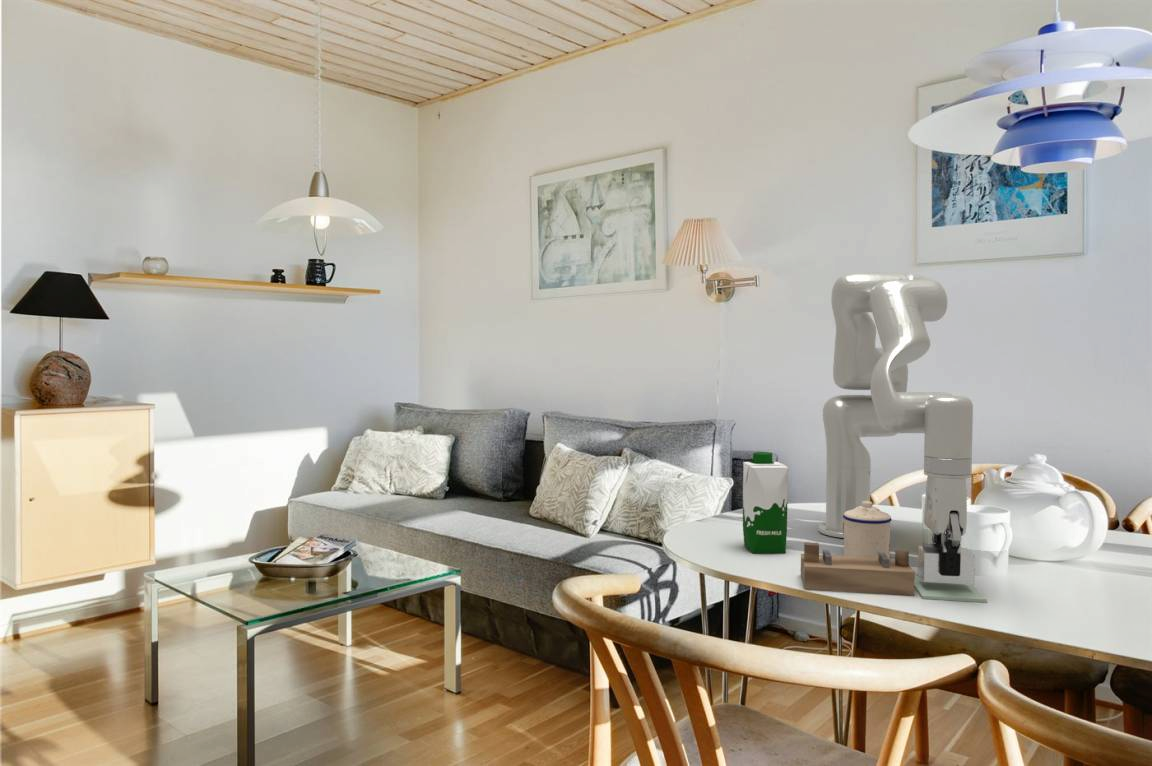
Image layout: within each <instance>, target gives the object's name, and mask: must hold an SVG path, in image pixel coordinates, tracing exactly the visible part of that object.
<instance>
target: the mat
mask: <svg viewBox="0 0 1152 766" xmlns="http://www.w3.org/2000/svg"><path fill="white" fill-rule="evenodd" d="M914 590H915V591H916V592H917V593H918V595H919V596H920V598H921V599H923V600H924V599H925V600H938V601H956V602H970V603H971V602H972V603H974V602H975V603H988V599H987V598H986V597H985V595H983V594H982V593H981V592H980V591H979V590H978V589H977V588H976V587H975V586H974V585H971V584H954V583H936V582H924V581H923V580H922V579H921V577H920V576H917V575H916V576H914Z"/></svg>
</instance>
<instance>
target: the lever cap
mask: <svg viewBox="0 0 1152 766" xmlns="http://www.w3.org/2000/svg"><path fill="white" fill-rule="evenodd" d="M940 552H942V544H936V543H933V544H932V543H922V545H918V546H917V575H918V577H921V579H922V580H923V581H924V582H936V583H954V584H971V585H973V586H974V585H975V571H976V570H975V569H976V568H975V567H976V563H975V562H976V561H975V560H976V559H975V557H976V555H975V554H974V553H973V552H972V551H970V550H969V549H968V548H967V547H966V548H965V547H961V562H960V576H942V575H941V574H940V573H939V564H940Z"/></svg>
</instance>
